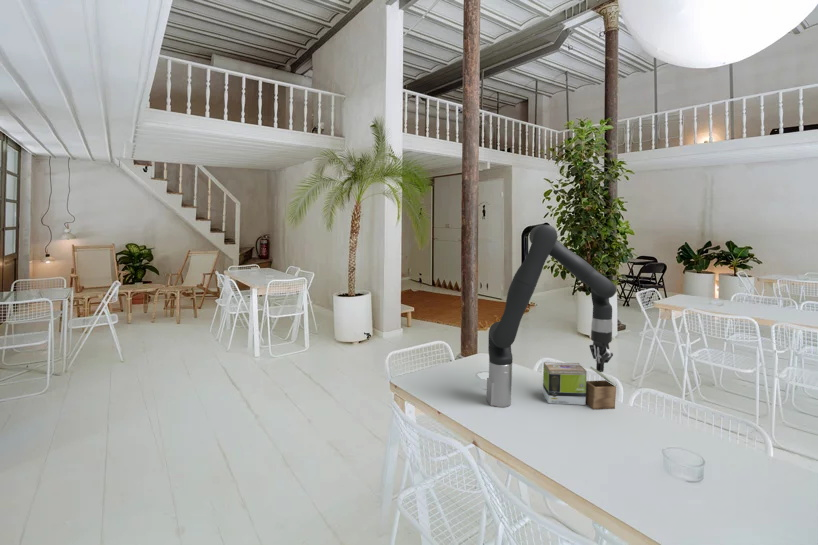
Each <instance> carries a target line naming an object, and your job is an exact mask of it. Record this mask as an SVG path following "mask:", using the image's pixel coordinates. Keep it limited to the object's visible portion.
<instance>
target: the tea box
mask: <svg viewBox="0 0 818 545" xmlns="http://www.w3.org/2000/svg"><path fill="white" fill-rule="evenodd" d="M587 372H588V371H587V370H586V369H585V367H584V366H582V365H581V364H580V363H579V362H545V361H544V362H543V376H542V378H543V379H542V381H543V382H542V394H543V397H544V398H545V400H546V402H547V403H548V404H556V405H581V406H585V405H587V404H586V381H587V374H588V373H587Z"/></svg>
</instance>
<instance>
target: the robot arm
mask: <svg viewBox="0 0 818 545" xmlns="http://www.w3.org/2000/svg"><path fill="white" fill-rule="evenodd" d="M528 236H529V237H528V239H529V241H530V244H531V245H530V247H529V249H528V250H529V251H528V252H527V255H526V257H525V259H524V260H523V262H522V263H521V264H520V266H519V267H518V268H517V270H516V272H515V273H514V276H513V277H512V280H511V282H510V285H509V287H508V291H507V294H506V295H507V296H506V301H505V308H504V312H503V313H502V316H501V318H500V320H499V321H495V322H493V323H492V325H490V327H489V329H488V344H487V345H488V350H487V351H488V356H489V358H488V377H487V378H486V397H485V398H486V401H487V402H488V405H490V406H491V407H498V408H506V407H509V406H511V405H512V386H513V385H512V382H513V354H512V345H513V343H514V342H515V340H516V337H517V334H518V330H519V328H520V324H521V321H522V318H523V316H524V314H525V311H526V310H527V307H528V305H529V303H530V300H531V298H532V297H533V294H534V291H535V289H536V286H537V284H538V282H539V280H540V277H541V274H542V271H543V269H544V265H545V263H546V262H547V259H548V257H549V256H550V257H552V258H553V259H554V260H556V261H557V262H558V263H559V264H560V265H561V266H563V267H564V268H565V269H566V270H567V271H568V272H569V273H570V274H572V275H573V276H574V277H575V278H576V279H577V280H579V281H580V282H582V284H585V285H586V286H588V287H589V288H590V294H591V295H590V296H591V302H592V319H591V327H590V328H591V330H590V340H591V341H592V344H590V345H589V346H588V347H589V350H590V354H591V356H592V358H593V360H595V362H596V368H595V369H596V370H598V371H599V372H601V373H603V372H604V370H605V369H604V368H605V364H608V363H609V362H610V360H611V359H612V357H613V356H614V353H613V352H611V351H610V345H609V344H610V343H611V342H612V340H613V307H612V305H611V303H610V298H612V297H614V296H615V295H616V292H617V287H616V285H615V284H614V282H613V281H612V280H610V279H609V278H607V277H606V276H604V275H603V274H601V273H600V272H599V271H597V270H596V269H595V268H594V267H593V266H592V265H591V264H590V263H588V262H587V261H586V260H585V259H584V258H582V257H581V256H579V255H578V254H577V253H574V252H573V251H572V250H571V249H568V248H567V247H566V246H565V245H563V244H562V243H561V242H560V241H559V240H558V232H557V230H556V228H555V227H554V226H552V225H549V224H540V225H537V226H534V227H533V228H532V229H531V230H530V232H529V235H528Z"/></svg>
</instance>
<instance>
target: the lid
mask: <svg viewBox="0 0 818 545" xmlns="http://www.w3.org/2000/svg"><path fill="white" fill-rule="evenodd" d="M589 368H590V369H591V370H593V371H594V372H595V373H596V374H598V375H599V376H600V377H602V379H604V380H606V381H608V382H609V383H611V384H612V385H614V386H616V387H617V384H616V382H614V381H613V380H611V379H610V378H608V376H606V375H605V374H604V373H603V372H599V371H598V370H596V368H594V367H593V366H590V367H589Z"/></svg>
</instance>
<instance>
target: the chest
mask: <svg viewBox="0 0 818 545" xmlns="http://www.w3.org/2000/svg"><path fill="white" fill-rule="evenodd" d="M616 394H617V385H616V386H615V385H613V384H612V383H610V382H609V381H607V380H605V379H604V380H586V404H585V405H587V406H588V407H589V408H591V409H592V410H610V409H611V410H612V409H613V410H614V409H616V398H617V397H616V396H617V395H616Z"/></svg>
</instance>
